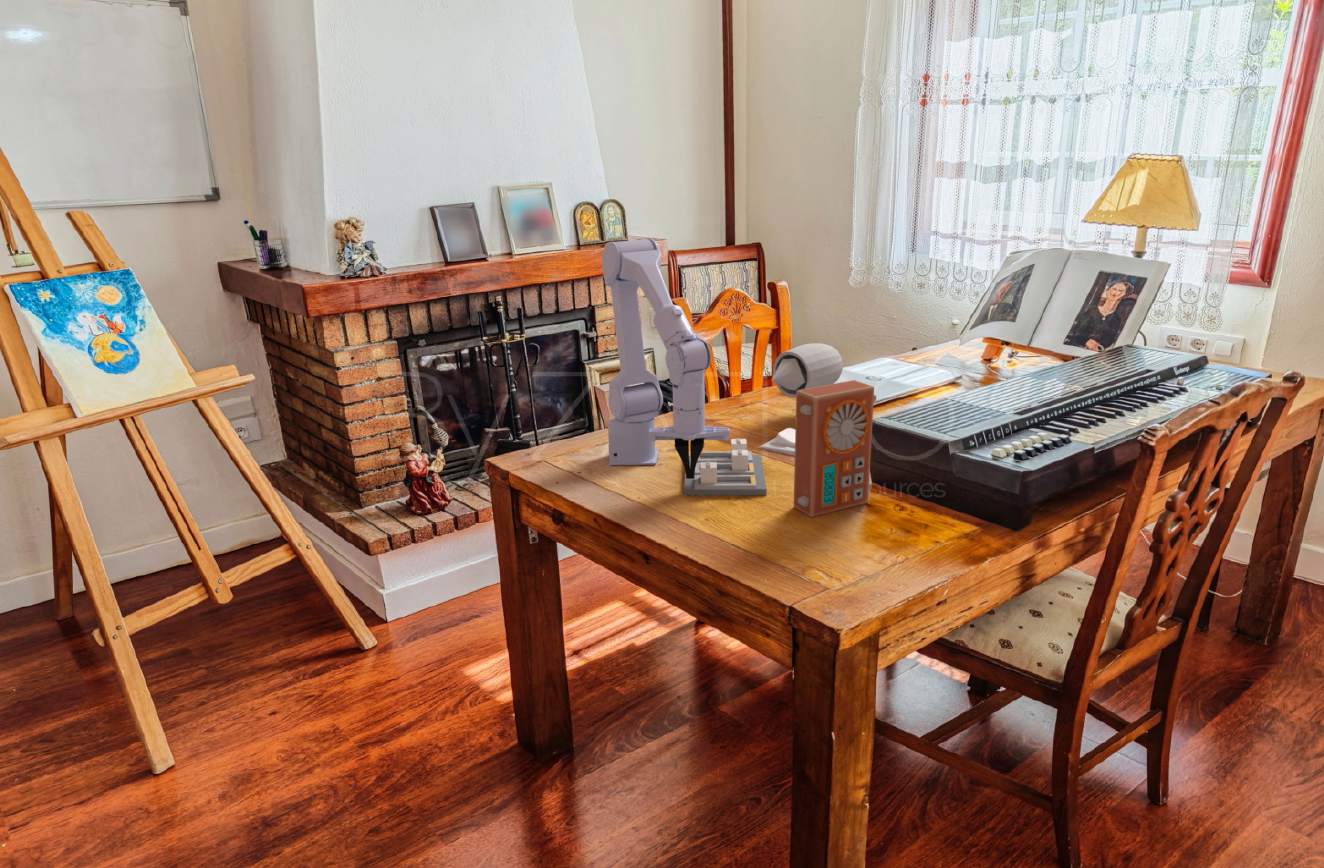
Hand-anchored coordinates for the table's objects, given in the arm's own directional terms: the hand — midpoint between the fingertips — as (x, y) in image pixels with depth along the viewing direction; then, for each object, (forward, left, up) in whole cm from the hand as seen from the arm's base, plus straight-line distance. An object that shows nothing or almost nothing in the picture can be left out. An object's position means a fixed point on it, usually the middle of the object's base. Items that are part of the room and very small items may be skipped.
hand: (690, 476), depth 161 cm
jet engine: (+25, +42, -3) cm, 49 cm away
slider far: (+9, +13, -1) cm, 16 cm away
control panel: (+25, -7, -3) cm, 26 cm away
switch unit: (+6, +7, -3) cm, 10 cm away
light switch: (+22, +24, -4) cm, 33 cm away
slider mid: (+9, +7, -1) cm, 12 cm away
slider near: (+3, 0, -1) cm, 4 cm away
